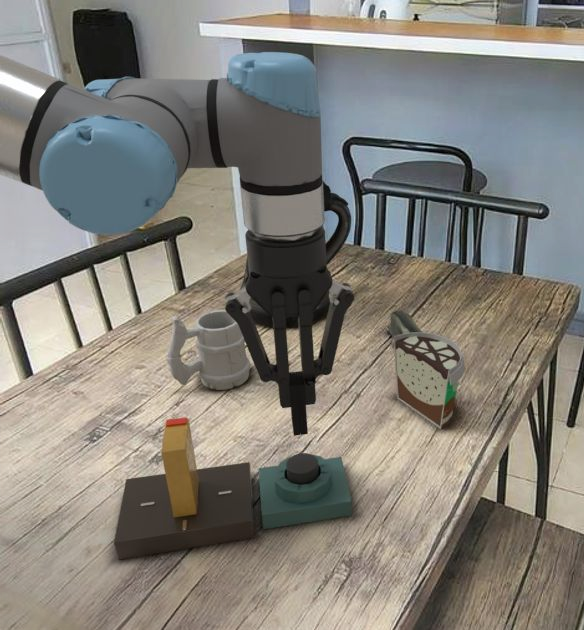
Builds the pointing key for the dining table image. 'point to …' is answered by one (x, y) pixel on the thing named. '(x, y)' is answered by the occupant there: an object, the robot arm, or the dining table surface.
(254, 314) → the beer stein
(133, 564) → the dining table surface
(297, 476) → the bell button
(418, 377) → the food container
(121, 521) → the lock plate
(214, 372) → the mug
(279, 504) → the push button box
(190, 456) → the lock knob
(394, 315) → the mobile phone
